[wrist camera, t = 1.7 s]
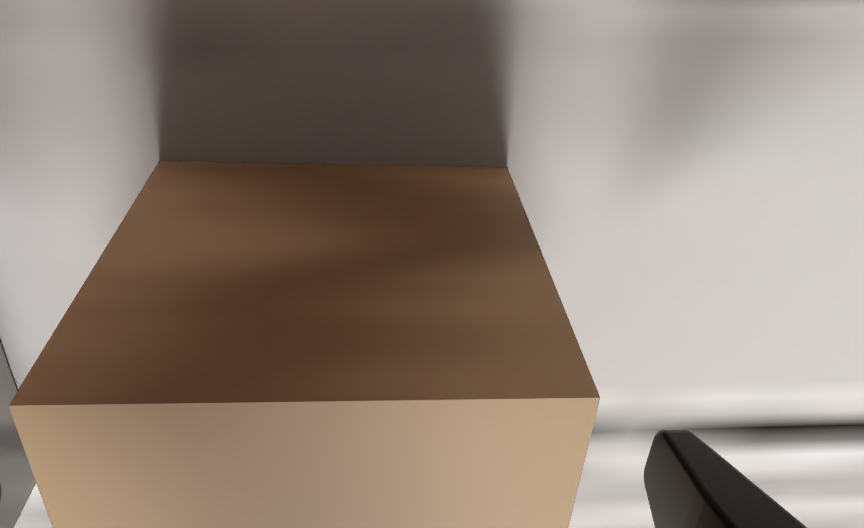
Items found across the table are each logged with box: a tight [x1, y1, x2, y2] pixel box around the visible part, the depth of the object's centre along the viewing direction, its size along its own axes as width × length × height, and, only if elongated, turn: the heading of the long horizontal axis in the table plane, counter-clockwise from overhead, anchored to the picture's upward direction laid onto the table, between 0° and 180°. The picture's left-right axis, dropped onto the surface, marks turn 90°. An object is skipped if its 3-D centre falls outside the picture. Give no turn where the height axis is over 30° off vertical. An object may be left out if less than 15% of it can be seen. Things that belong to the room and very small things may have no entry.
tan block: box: [9, 161, 600, 528], centre depth 10 cm, size 6×6×6 cm
